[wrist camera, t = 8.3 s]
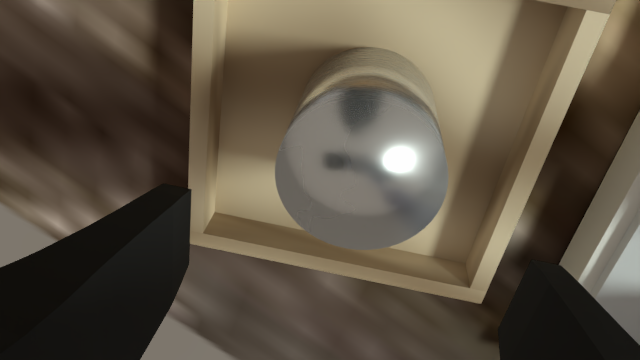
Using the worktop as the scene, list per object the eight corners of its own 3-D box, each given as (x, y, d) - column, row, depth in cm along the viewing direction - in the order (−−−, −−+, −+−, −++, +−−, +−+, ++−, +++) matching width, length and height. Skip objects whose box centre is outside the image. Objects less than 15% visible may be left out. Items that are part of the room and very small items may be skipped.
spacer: (407, 186, 18) (412, 268, 14) (288, 151, 18) (259, 223, 14) (456, 70, 16) (477, 129, 12) (320, 29, 16) (296, 75, 12)
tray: (473, 268, 20) (481, 303, 18) (203, 212, 20) (186, 242, 19) (593, -22, 15) (620, -10, 13) (218, -93, 15) (195, -91, 13)
